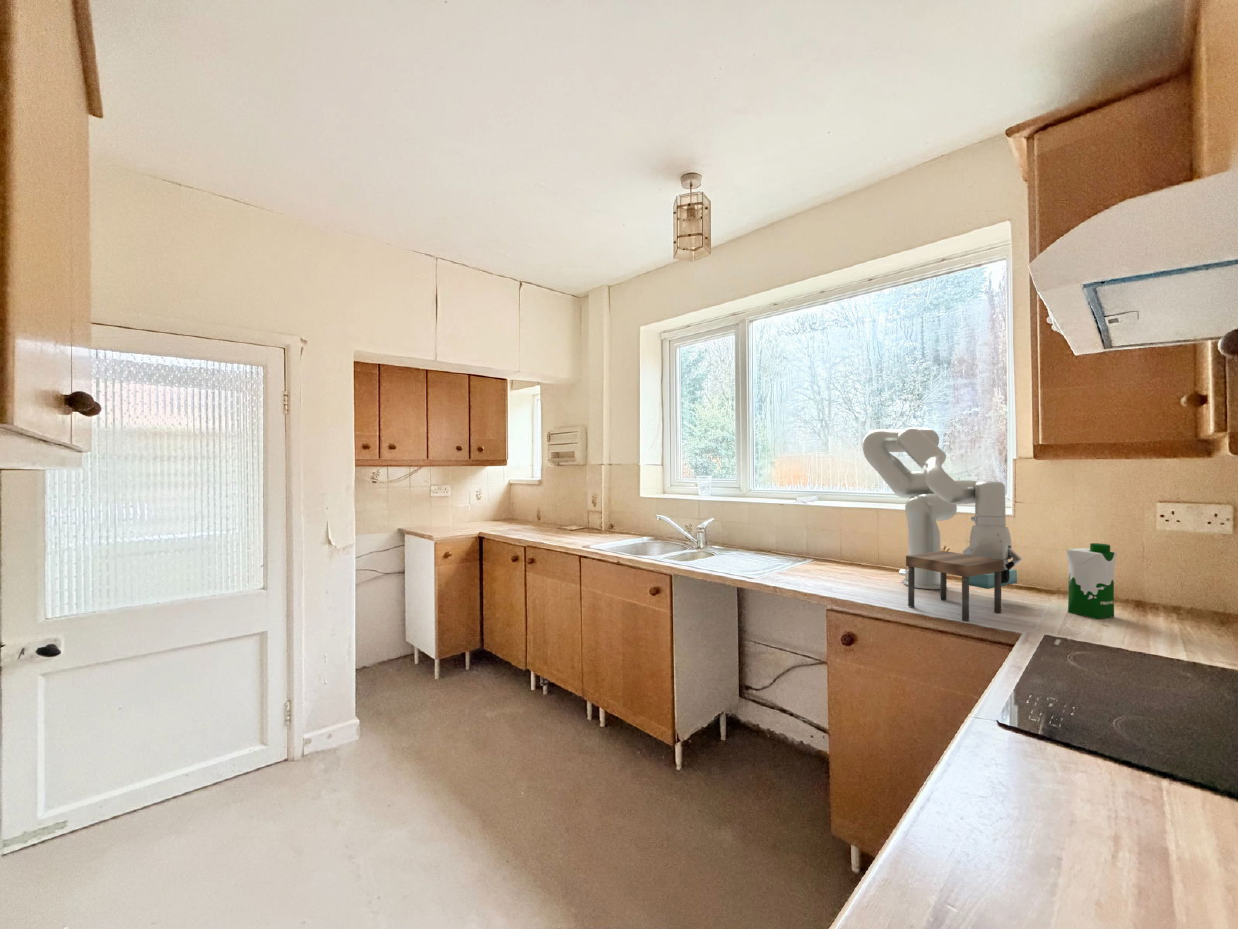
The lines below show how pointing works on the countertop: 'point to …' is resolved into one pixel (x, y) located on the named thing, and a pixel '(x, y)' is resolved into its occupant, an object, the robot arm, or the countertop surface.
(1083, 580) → the milk carton
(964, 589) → the small wooden table
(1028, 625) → the countertop surface
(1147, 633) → the countertop surface
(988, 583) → the tray
